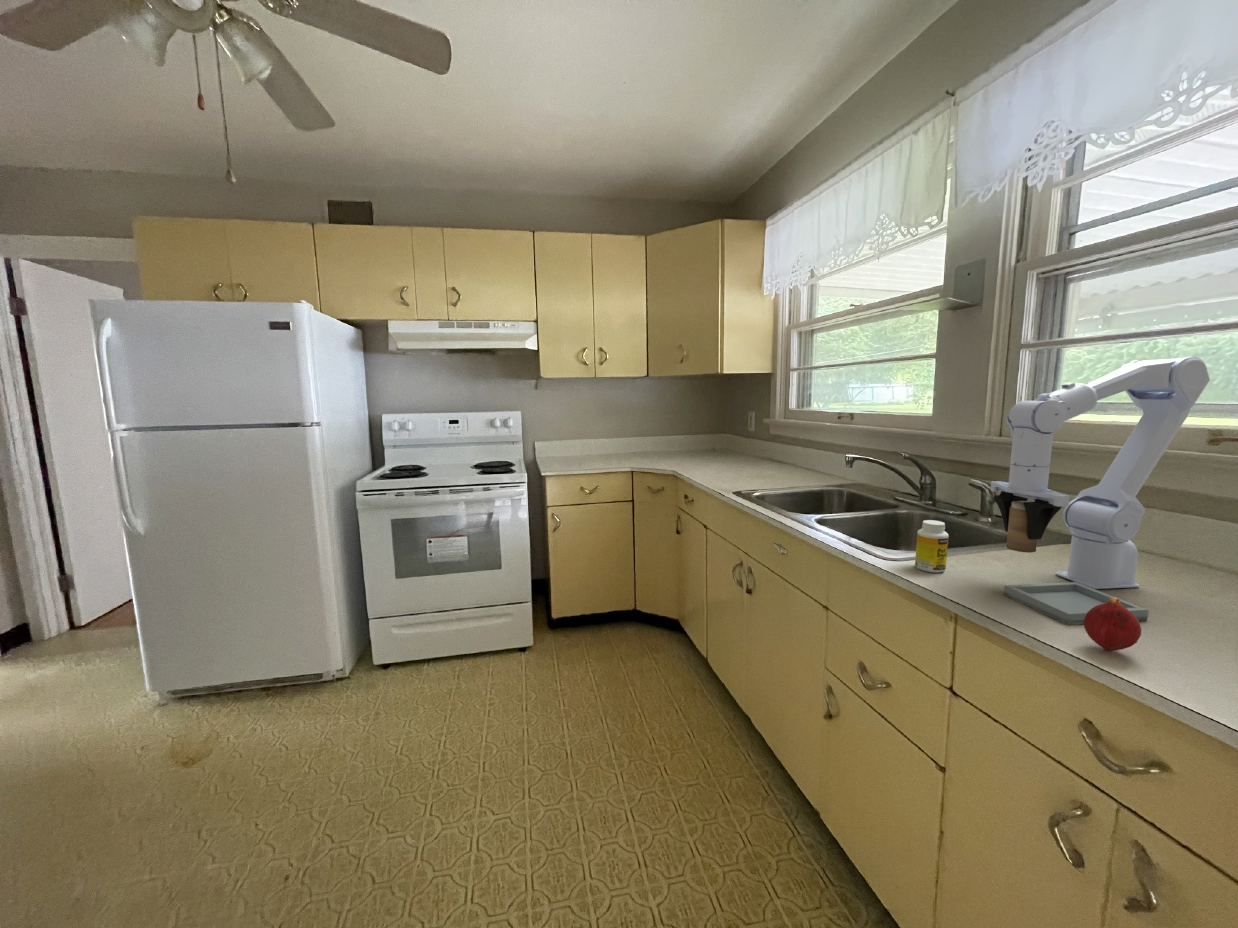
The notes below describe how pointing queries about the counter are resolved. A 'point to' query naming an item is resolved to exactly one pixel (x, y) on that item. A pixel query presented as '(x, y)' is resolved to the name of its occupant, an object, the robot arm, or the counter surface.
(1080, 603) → the tray
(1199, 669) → the counter surface
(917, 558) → the supplement bottle
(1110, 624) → the onion
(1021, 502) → the shaker
